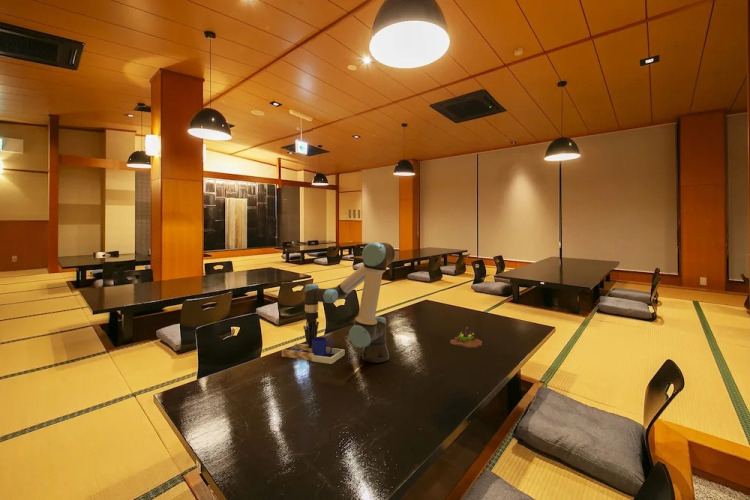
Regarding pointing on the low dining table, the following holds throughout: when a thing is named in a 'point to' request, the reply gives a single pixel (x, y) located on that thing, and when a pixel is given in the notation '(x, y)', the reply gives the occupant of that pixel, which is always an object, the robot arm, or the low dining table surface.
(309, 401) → the low dining table surface
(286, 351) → the wooden serving tray
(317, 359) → the tray
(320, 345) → the mug
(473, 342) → the plant
